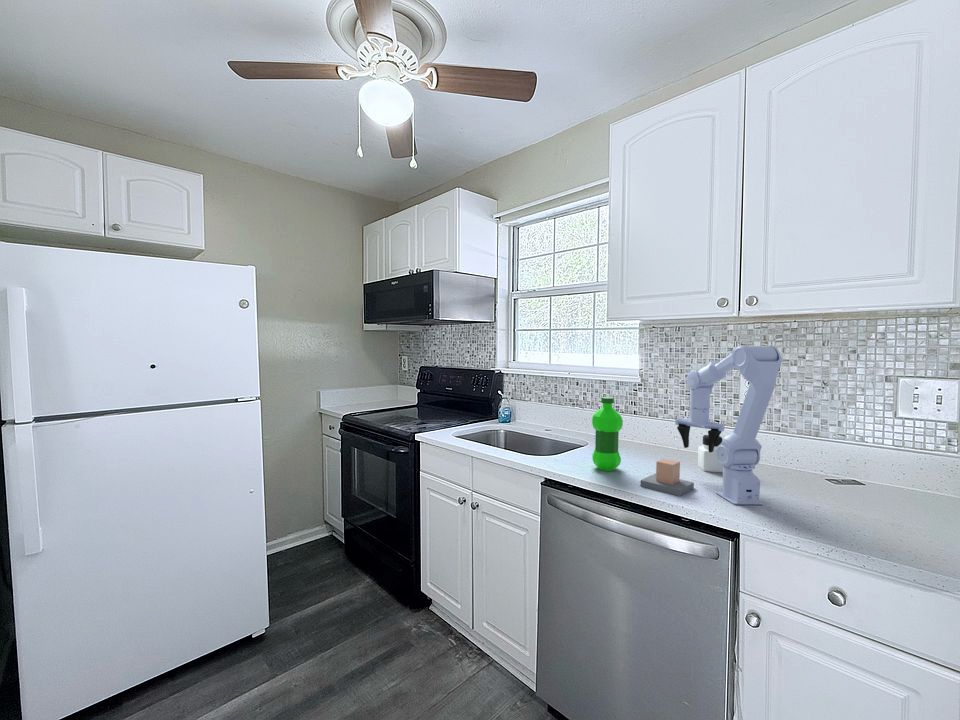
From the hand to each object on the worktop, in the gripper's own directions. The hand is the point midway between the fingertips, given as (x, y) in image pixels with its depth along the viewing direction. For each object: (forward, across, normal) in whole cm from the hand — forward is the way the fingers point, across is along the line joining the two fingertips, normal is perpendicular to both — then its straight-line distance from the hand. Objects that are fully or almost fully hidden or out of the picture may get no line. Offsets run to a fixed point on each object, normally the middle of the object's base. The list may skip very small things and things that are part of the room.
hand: (698, 449), depth 141 cm
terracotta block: (+8, +3, +16) cm, 18 cm away
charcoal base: (+9, +3, +16) cm, 19 cm away
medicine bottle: (+10, 0, -14) cm, 17 cm away
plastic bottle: (+10, +26, +13) cm, 30 cm away
